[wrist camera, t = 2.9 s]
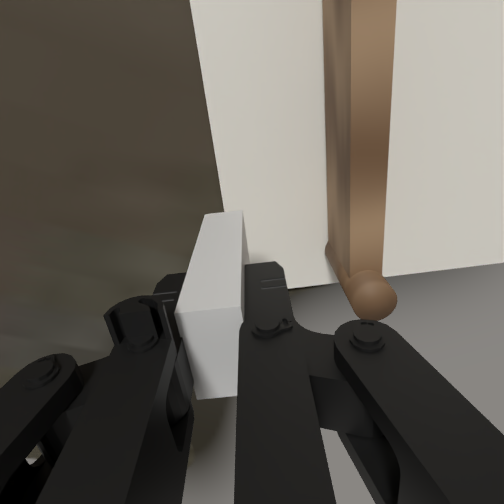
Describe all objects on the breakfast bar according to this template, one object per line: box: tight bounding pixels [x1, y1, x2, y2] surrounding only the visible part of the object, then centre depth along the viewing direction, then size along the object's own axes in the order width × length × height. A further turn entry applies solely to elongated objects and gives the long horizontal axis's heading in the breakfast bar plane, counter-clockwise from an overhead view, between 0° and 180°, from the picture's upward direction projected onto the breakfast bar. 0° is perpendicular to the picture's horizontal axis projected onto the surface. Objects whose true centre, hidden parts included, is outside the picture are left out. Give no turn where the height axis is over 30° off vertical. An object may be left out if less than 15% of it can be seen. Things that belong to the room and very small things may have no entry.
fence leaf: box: [322, 0, 397, 321], centre depth 14 cm, size 13×2×5 cm, turn 7°
